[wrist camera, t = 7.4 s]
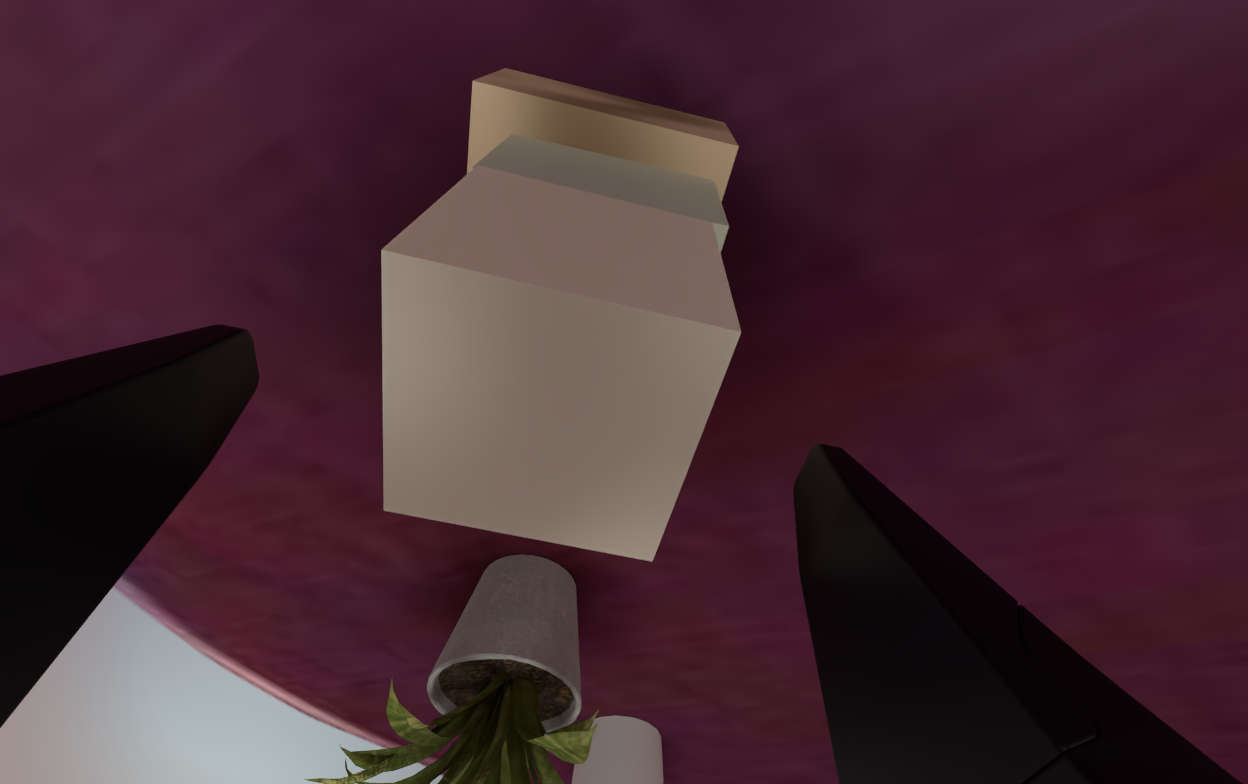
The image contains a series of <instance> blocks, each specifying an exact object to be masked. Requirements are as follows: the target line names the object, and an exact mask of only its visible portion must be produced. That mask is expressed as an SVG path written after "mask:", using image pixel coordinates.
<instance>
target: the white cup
mask: <svg viewBox="0 0 1248 784" xmlns="http://www.w3.org/2000/svg"><path fill="white" fill-rule="evenodd" d="M596 724H597V727H596V729H595V731H594V734H593V737H592V742H591V746H590V751H589V755H588V759H587V760H586V761H585V762H584V763H583V764H575V765H574V772H573V778H572V784H663V763H662V743H661V736H660V734H659V732H658V730H657V729H656V728H655V727H653V726H652V725H651V724H649V723H648V722H645V721H642V720H640V719H637V718H634V717H626V716H617V715H615V716H605V717H599V718H596V719H594V721H593V724H592V726H591V728H593V727H594V726H595V725H596ZM591 728H590V729H591Z"/></svg>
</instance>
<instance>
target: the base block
mask: <svg viewBox="0 0 1248 784" xmlns="http://www.w3.org/2000/svg"><path fill="white" fill-rule="evenodd" d="M512 133H514V134H518V135H522V136H527V137H531V138H535V139H540V140H544V141H548V142H552V143H557V144H561V145H565V146H570V147H574V148H578V149H582V150H587V151H591V152H595V153H600V154H604V155H608V156H613V157H617V158H621V159H625V160H630V161H634V162H638V163H643V164H647V165H651V166H655V167H660V168H664V169H668V170H673V171H677V172H681V173H685V174H690V175H694V176H698V177H703V178H707V179H711V180H714V182H715V185H716V188H717V191H718V194H719V197H720V200H721V202H722V199H723V196H724V193H725V189H726V186H727V183H728V180H729V177H730V173H731V170H732V167H733V164H734V160H735V157H736V154H737V151H738V147H739V146H738V144H737V142H736V141H735V139H734V137H733V136H732V134H731V132H730V131H729V129H728V127H727V126H726V124H725V123H724V122H720V121H716V120H712V119H708V118H704V117H700V116H696V115H692V114H688V113H684V112H680V111H676V110H672V109H668V108H664V107H660V106H656V105H652V104H648V103H644V102H640V101H636V100H632V99H628V98H624V97H620V96H616V95H612V94H608V93H604V92H600V91H596V90H592V89H588V88H584V87H580V86H576V85H572V84H568V83H564V82H560V81H556V80H552V79H548V78H544V77H540V76H536V75H532V74H528V73H524V72H520V71H515V70H511V69H507V68H504V69H502V70H499V71H496V72H494V73H491V74H489V75H486V76H483V77H481V78H478V79H475V80H473V83H472V99H471V115H470V131H469V148H468V164H467V174H468V173H469V172H470V171H471V168H472V167H473V166H474V165H475V164H476V163H478V162H479V161H480V160H481V159H482V158H484V157H485V156H486V155H487V154H488V153H489V152H491V151H492V150H493V149H494V148H495V147H497V146H498V145H499V144H500V143H501V142H502V141H504V140H505V139H506V138H507V137H508V136H510V135H511V134H512Z"/></svg>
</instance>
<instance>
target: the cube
mask: <svg viewBox="0 0 1248 784" xmlns="http://www.w3.org/2000/svg"><path fill="white" fill-rule="evenodd" d="M381 265H382V373H383V481H384V511H389V512H394V513H400V514H405V515H410V516H415V517H421V518H426V519H431V520H436V521H442V522H447V523H452V524H457V525H463V526H468V527H473V528H478V529H484V530H489V531H494V532H499V533H505V534H510V535H515V536H520V537H526V538H531V539H536V540H541V541H546V542H552V543H557V544H562V545H567V546H573V547H578V548H583V549H588V550H594V551H599V552H604V553H609V554H615V555H620V556H625V557H630V558H636V559H641V560H646V561H651V562H652V561H653V559H654V556H655V554H656V551H657V548H658V546H659V543H660V541H661V538H662V536H663V533H664V530H665V528H666V525H667V523H668V520H669V517H670V515H671V512H672V510H673V507H674V505H675V502H676V499H677V497H678V494H679V492H680V489H681V487H682V484H683V481H684V479H685V476H686V474H687V471H688V468H689V466H690V463H691V461H692V458H693V456H694V453H695V450H696V448H697V445H698V443H699V440H700V438H701V435H702V432H703V430H704V427H705V425H706V422H707V419H708V417H709V414H710V412H711V409H712V407H713V404H714V401H715V399H716V396H717V394H718V391H719V389H720V386H721V383H722V381H723V378H724V376H725V373H726V370H727V368H728V365H729V363H730V360H731V358H732V355H733V352H734V350H735V347H736V345H737V342H738V340H739V337H740V334H741V329H740V325H739V321H738V318H737V314H736V310H735V306H734V303H733V299H732V295H731V291H730V288H729V284H728V280H727V276H726V273H725V269H724V265H723V261H722V257H721V254H720V250H719V246H718V242H717V239H716V235H715V231H714V227H713V224H712V222H708V221H705V220H700V219H696V218H692V217H688V216H684V215H680V214H676V213H672V212H668V211H664V210H660V209H656V208H652V207H648V206H643V205H639V204H635V203H631V202H627V201H623V200H619V199H615V198H611V197H607V196H603V195H599V194H595V193H590V192H586V191H582V190H578V189H574V188H570V187H566V186H562V185H558V184H554V183H550V182H546V181H542V180H538V179H533V178H529V177H525V176H521V175H517V174H513V173H509V172H505V171H501V170H497V169H493V168H489V167H485V166H480V165H477V166H476V167H475V168H474V169H473V170H472V171H470V172H469V173H468V174H467V175H466V176H465V177H464V178H462V179H461V180H460V181H459V182H458V183H457V184H456V185H455V186H453V187H452V188H451V189H450V190H449V191H448V192H447V193H445V194H444V195H443V196H442V197H441V198H440V199H439V200H437V201H436V202H435V203H434V204H433V205H432V206H431V207H429V208H428V209H427V210H426V211H425V212H424V213H423V214H421V215H420V216H419V217H418V218H417V219H416V220H415V221H413V222H412V223H411V224H410V225H409V226H408V227H407V228H405V229H404V230H403V231H402V232H401V233H400V234H399V235H397V236H396V237H395V238H394V239H393V240H392V241H391V242H389V243H388V244H387V245H386V246H385V247H384V248H383V249H381Z"/></svg>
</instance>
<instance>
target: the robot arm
mask: <svg viewBox="0 0 1248 784" xmlns="http://www.w3.org/2000/svg"><path fill="white" fill-rule="evenodd" d="M258 381H259V373H258V367H257V361H256V355H255V349H254V343H253V339H252V336H251V334H250V333H249V332H248V331H247V330H245V329H241V328H236V327H231V326H226V325H212V326H208V327H204V328H200V329H195V330H191V331H187V332H183V333H179V334H174V335H170V336H166V337H162V338H157V339H153V340H149V341H145V342H141V343H136V344H132V345H128V346H124V347H119V348H115V349H111V350H107V351H103V352H98V353H94V354H90V355H86V356H82V357H77V358H73V359H69V360H65V361H60V362H56V363H52V364H48V365H44V366H39V367H35V368H31V369H27V370H22V371H18V372H14V373H10V374H6V375H1V376H0V728H1V726H2V725H3V724H4V723H5V721H6V720H7V719H8V718H9V716H10V715H11V714H12V713H13V711H14V710H15V709H16V707H17V706H18V705H19V704H20V703H21V701H22V700H23V699H24V697H25V696H26V695H27V694H28V693H29V691H30V690H31V689H32V688H33V686H34V685H35V684H36V682H37V681H38V680H39V679H40V677H41V676H42V675H43V674H44V673H45V671H46V670H47V669H48V668H49V666H50V665H51V664H52V662H53V661H54V660H55V659H56V657H57V656H58V655H59V654H60V652H61V651H62V650H63V649H64V647H65V646H66V645H67V643H68V642H69V641H70V640H71V639H72V637H73V636H74V635H75V634H76V632H77V631H78V630H79V628H80V627H81V626H82V625H83V624H84V622H85V621H86V620H87V619H88V617H89V616H90V615H91V613H92V612H93V611H94V610H95V608H96V607H97V606H98V605H99V603H100V602H101V601H102V599H103V598H104V597H105V596H106V595H107V593H108V592H109V591H110V590H111V588H112V587H113V586H114V585H115V583H116V582H117V581H118V580H119V578H120V577H121V576H122V575H123V573H124V572H125V571H126V570H127V568H128V567H129V566H130V564H131V563H132V562H133V561H134V559H135V558H136V557H137V556H138V554H139V553H140V552H141V551H142V549H143V548H144V547H145V546H146V544H147V543H148V542H149V541H150V539H151V538H152V537H153V536H154V534H155V533H156V532H157V531H158V529H159V528H160V527H161V526H162V524H163V523H164V522H165V521H166V519H167V518H168V517H169V515H170V514H171V513H172V512H173V510H174V509H175V508H176V507H177V505H178V504H179V503H180V502H181V500H182V499H183V498H184V497H185V495H186V494H187V493H188V492H189V490H190V489H191V488H192V487H193V485H194V484H195V483H196V482H197V480H198V479H199V478H200V476H201V475H202V474H203V472H204V471H205V470H206V468H207V467H208V465H209V464H210V462H211V461H212V459H213V458H214V456H215V455H216V453H217V452H218V450H219V449H220V447H221V445H222V444H223V442H224V441H225V439H226V437H227V436H228V434H229V432H230V431H231V429H232V428H233V426H234V424H235V423H236V421H237V420H238V418H239V416H240V415H241V413H242V412H243V410H244V408H245V407H246V405H247V404H248V402H249V400H250V399H251V397H252V396H253V394H254V392H255V390H256V388H257V385H258ZM794 507H795V521H796V535H797V549H798V562H799V572H800V579H801V585H802V591H803V596H804V601H805V607H806V612H807V617H808V622H809V627H810V633H811V638H812V643H813V648H814V654H815V659H816V664H817V669H818V675H819V680H820V685H821V690H822V695H823V701H824V706H825V711H826V716H827V722H828V727H829V732H830V737H831V742H832V748H833V753H834V758H835V763H836V769H837V774H838V779H839V784H1242V783H1241V782H1240V781H1238V780H1237V779H1236V778H1234V777H1233V776H1232V775H1230V774H1229V773H1228V772H1227V771H1225V770H1224V769H1223V768H1222V767H1220V766H1219V765H1218V764H1217V763H1215V762H1214V761H1213V760H1211V759H1210V758H1209V757H1208V756H1206V755H1205V754H1204V753H1203V752H1201V751H1200V750H1199V749H1197V748H1196V747H1195V746H1194V745H1192V744H1191V743H1190V742H1189V741H1187V740H1186V739H1185V738H1184V737H1182V736H1181V735H1180V734H1178V733H1177V732H1176V731H1175V730H1173V729H1172V728H1171V727H1170V726H1168V725H1167V724H1166V723H1165V722H1163V721H1162V720H1161V719H1159V718H1158V717H1157V716H1156V715H1154V714H1153V713H1152V712H1151V711H1149V710H1148V709H1147V708H1146V707H1144V706H1143V705H1142V704H1140V703H1139V702H1138V701H1137V700H1135V699H1134V698H1133V697H1132V696H1130V695H1129V694H1128V693H1127V692H1125V691H1124V690H1123V689H1122V688H1120V687H1119V686H1118V685H1117V684H1115V683H1114V682H1113V681H1112V680H1110V679H1109V678H1108V677H1107V676H1105V675H1104V674H1103V673H1102V672H1100V671H1099V670H1098V669H1097V668H1095V667H1094V666H1093V665H1092V664H1090V663H1089V662H1088V661H1087V660H1086V659H1084V658H1083V657H1082V656H1081V655H1079V654H1078V653H1077V652H1076V651H1075V650H1074V649H1072V648H1071V647H1070V646H1069V645H1068V644H1066V643H1065V642H1064V641H1063V640H1062V639H1061V638H1059V637H1058V636H1057V635H1056V634H1055V633H1054V632H1052V631H1051V630H1050V629H1049V628H1048V627H1046V626H1045V625H1044V624H1043V623H1042V622H1041V621H1040V620H1038V619H1037V618H1036V617H1035V616H1034V615H1033V614H1032V613H1030V612H1029V611H1028V610H1027V609H1026V608H1025V607H1024V606H1022V605H1019V606H1018V602H1017V601H1016V600H1015V599H1014V598H1013V597H1012V596H1011V595H1010V594H1009V593H1007V592H1006V591H1005V590H1004V589H1003V588H1002V587H1000V586H999V585H998V584H997V583H996V582H995V581H994V580H992V579H991V578H990V577H989V576H988V575H987V574H986V573H984V572H983V571H982V570H981V569H980V568H979V567H978V566H976V565H975V564H974V563H973V562H972V561H971V560H969V559H968V558H967V557H966V556H965V555H964V554H963V553H961V552H960V551H959V550H958V549H957V548H956V547H955V546H953V545H952V544H951V543H950V542H949V541H948V540H947V539H945V538H944V537H943V536H942V535H941V534H940V533H938V532H937V531H936V530H935V529H934V528H933V527H932V526H930V525H929V524H928V523H927V522H926V521H925V520H924V519H922V518H921V517H920V516H919V515H918V514H917V513H916V512H914V511H913V510H912V509H911V508H910V507H909V506H908V505H906V504H905V503H904V502H903V501H902V500H901V499H900V498H898V497H897V496H896V495H895V494H894V493H893V492H891V491H890V490H889V489H888V488H887V487H886V486H885V485H883V484H882V483H881V482H880V481H879V480H878V479H877V478H875V477H874V476H873V475H872V474H871V473H870V472H869V471H867V470H866V469H865V468H864V467H863V466H862V465H861V464H859V463H858V462H857V461H856V460H855V459H854V458H853V457H851V456H850V455H849V454H848V453H847V452H846V451H844V450H843V449H842V448H839V447H835V446H830V445H825V444H817V445H815V446H814V447H813V448H812V449H811V451H810V453H809V455H808V457H807V459H806V461H805V463H804V465H803V467H802V469H801V471H800V473H799V474H798V476H797V479H796V481H795V485H794Z"/></svg>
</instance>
